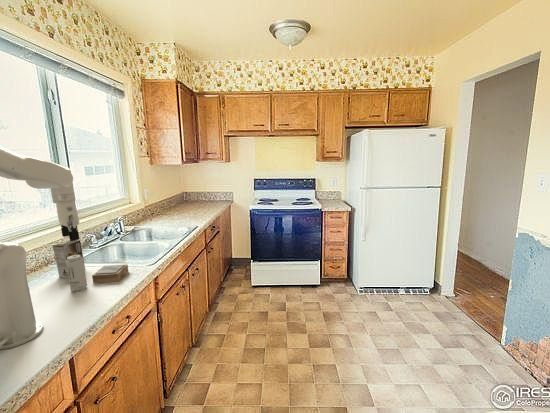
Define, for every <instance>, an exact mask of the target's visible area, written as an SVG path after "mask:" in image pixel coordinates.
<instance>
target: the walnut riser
mask: <svg viewBox="0 0 550 413" xmlns="http://www.w3.org/2000/svg"><path fill="white" fill-rule="evenodd" d="M128 266H129V265H128V263H126V264H113V265H103V266H102V267H101V268H99V269H98V270H97V271H95V272H94V273H93V274H92V275H91V276H92V277H91V278H92V284H107V283H108V284H110V283H111V284H112V283H120V282H121V281H122V279H123V278H124V277H125V276H126V275H127V274H128V273H129V267H128Z"/></svg>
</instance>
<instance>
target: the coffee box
mask: <svg viewBox="0 0 550 413" xmlns="http://www.w3.org/2000/svg"><path fill="white" fill-rule="evenodd" d="M52 247H53V252H54V258H55V263H56V268H57V273H58V277H59V278H67V279H69V278H68V272H67V267H66V260H67V257H69V256H72V255H81V257H82V258H83V262H84V263H85V260H84V254H83V250H82V243H81V239H79V240H75V241H70V239H69V240H66V241H64V242H59V243H58V244H54V245H53V246H52ZM84 268H85V269H86V266H85V264H84Z"/></svg>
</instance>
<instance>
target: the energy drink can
mask: <svg viewBox="0 0 550 413" xmlns="http://www.w3.org/2000/svg"><path fill="white" fill-rule="evenodd" d="M83 259H84V257H83V258H82V257H81V255H72V256H69V257H67V260H66V267H67V272H68V278H67V279H68V283H69V288H70V290H71V291H72V292H74V293H75V292H76V293H78V292H81V291H84V290H86V289H87V286H88V281H87V274H86V267H85V268H84V265H85V261H84V262H83Z"/></svg>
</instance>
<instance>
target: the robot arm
mask: <svg viewBox="0 0 550 413" xmlns="http://www.w3.org/2000/svg"><path fill="white" fill-rule="evenodd" d="M0 177H1V178H5V179H8V180H15V181H24V182H26V185H28V186H29V187H30V188H33V189H36V190H38V189H39V190H41V189H42V190H43V189H45V190H46V189H50V194H51V199H52V203H53V204H56V206H55V207H56V214H57V218H58V223H59V224H60V227H61V228H60V229H61V230H60V231H61V235H62V237H63V238H66V237H68V238H69V240H70V241H75V240H80V235H79V228H78V225H80V218H79V214H78V210H77V207H76V193H75V188H74V182H73V181H74V175H73V174H72V171H71V169H70V168H69V167H65V166H62V165H60V164H57V163H55V162H52V161H50V160H49V161H48V160H43V159H40V158H35V157H32V156H26V155H21V154H18V153H16V152H13V151H11V150H9V149H6V148H4V147H1V146H0ZM27 277H28V276H27V252H26V250H25V248H24V247H23V246H22V245H20V244H18V243H15V242H7V241H5V242H4V241H1V242H0V350H6V349H12V348H16V347H17V346H21V345H24V344H25V343H28V342H30V341H31V340H34V338H36V337H38V336H39V335H40V334H41V333H42V332H43V331H44V325H43V323H42V322H40V321H37V320H36V316H35V311H34V306H33V302H32V298H31V293H30V292H31V291H30V288H29V283H28V282H29V281H28V278H27Z"/></svg>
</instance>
